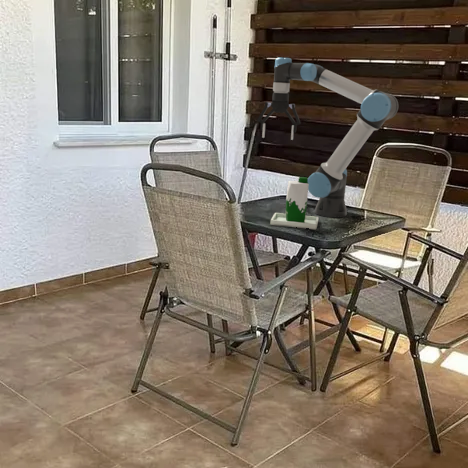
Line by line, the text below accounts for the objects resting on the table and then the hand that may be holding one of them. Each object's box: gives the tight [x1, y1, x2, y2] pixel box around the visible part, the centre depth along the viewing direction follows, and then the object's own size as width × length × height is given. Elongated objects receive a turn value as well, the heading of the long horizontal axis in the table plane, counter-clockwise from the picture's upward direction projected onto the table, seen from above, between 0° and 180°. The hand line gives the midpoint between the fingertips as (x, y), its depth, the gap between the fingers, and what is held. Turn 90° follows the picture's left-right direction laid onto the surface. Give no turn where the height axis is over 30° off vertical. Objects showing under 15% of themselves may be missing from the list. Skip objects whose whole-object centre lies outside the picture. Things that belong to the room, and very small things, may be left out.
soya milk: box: [285, 176, 309, 223], centre depth 270 cm, size 9×9×20 cm
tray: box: [269, 212, 319, 230], centre depth 272 cm, size 20×16×2 cm
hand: (277, 138), depth 288 cm, fingers open, 13 cm apart
